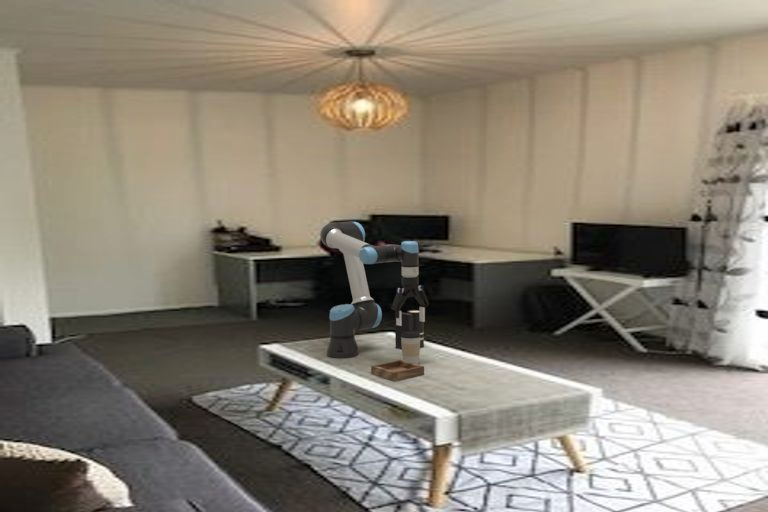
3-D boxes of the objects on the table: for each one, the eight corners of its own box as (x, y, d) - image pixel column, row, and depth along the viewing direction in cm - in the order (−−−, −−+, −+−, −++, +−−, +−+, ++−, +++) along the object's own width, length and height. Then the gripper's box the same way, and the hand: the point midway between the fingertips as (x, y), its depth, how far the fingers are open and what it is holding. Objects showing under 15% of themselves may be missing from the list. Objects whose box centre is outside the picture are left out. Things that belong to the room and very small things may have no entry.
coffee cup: (421, 361, 317) (421, 328, 315) (420, 366, 308) (420, 332, 306) (401, 361, 317) (401, 328, 316) (400, 366, 308) (399, 332, 307)
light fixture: (428, 346, 346) (428, 311, 345) (409, 351, 337) (409, 314, 335) (414, 343, 353) (413, 309, 352) (395, 348, 344) (394, 312, 342)
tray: (371, 373, 296) (371, 365, 296) (400, 367, 306) (400, 359, 306) (394, 381, 284) (394, 373, 283) (424, 374, 293) (424, 366, 293)
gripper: (393, 279, 298) (394, 328, 300) (436, 274, 313) (436, 320, 315) (382, 277, 304) (383, 325, 306) (425, 273, 319) (425, 318, 321)
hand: (410, 323), depth 311 cm, fingers open, 13 cm apart
